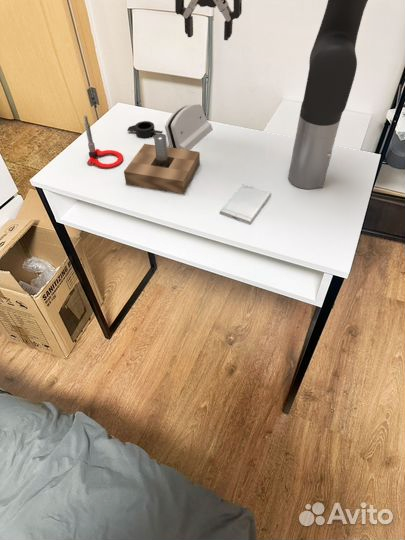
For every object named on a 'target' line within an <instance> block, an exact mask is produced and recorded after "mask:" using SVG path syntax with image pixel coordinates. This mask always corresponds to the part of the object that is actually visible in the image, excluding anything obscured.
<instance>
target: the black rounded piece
mask: <svg viewBox="0 0 405 540" xmlns="http://www.w3.org/2000/svg"><path fill="white" fill-rule="evenodd" d="M127 132H135V136H136V137H137V138H139V139H143V140H145V139H151V138H152V137H153V138H154V136H155V135H156V134H163V132H164V131H162V130H156V129H155V124H154V122H152V121H149V120H142V121H139V122H137V123H136V124H133V125H131V126H129V127H128V128H127Z"/></svg>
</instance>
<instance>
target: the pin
mask: <svg viewBox="0 0 405 540" xmlns="http://www.w3.org/2000/svg"><path fill="white" fill-rule="evenodd" d="M153 139H154V140H153V141H154V145H155V151H156V160H157V166H159V167H165V168H169V166H168V154H167V147H168V146H167V145H168V144H167V134H164V133H155V135H154V136H153Z"/></svg>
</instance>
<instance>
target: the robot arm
mask: <svg viewBox="0 0 405 540" xmlns="http://www.w3.org/2000/svg"><path fill="white" fill-rule="evenodd" d="M242 1H243V0H233V11H232V9H231V7H230V5H229V3H228V0H190V1H189V3H188V5H187V7H185V0H174V2H175V4H174V5H175V6H174V9H175V10H174V11H175V14H176V15H180V16H182V17H183V18H184V32H185V35H187V38H192V37H193V36H194V19H193V18H194V17H193V15H192V14H193V13H194V10H195V9H196V7H197V6H199V7H200V8H205V7H208V8H215V7H217V9H218V11H219V12H220V13H221V14H222V16H223V18H224V22H223V23H224V24H223V25H224V27H223V29H224V31H223V40H224V41H229V39H230V37H231V36H232V35H233V24H234V23H233V20H235V19H236V20H237V19H239V18H240V16H241V15H242V12H243V9H242V7H243V5H242V3H243V2H242ZM368 2H369V0H327V3H326V8H325V10H324V14H323V16H322V20H321V22H320V26H319V29H318V32H317V34H316V37H315V40H314V43H313V46H312V49H311V51H310V54H309V60H308V61H309V70H308V73H307V79H306V84H305V90H304V95H303V100H302V102H301V106H300V112H299V117H298V122H297V126H296V127H297V128H296V133H295V139H294V144H293V147H292V154H291V160H290V165H289V169H288V175H287V179H288V181H289V182H290V183H291V185H293V186H294V187H296V188H300V189H303V190H304V189H305V190H314V189H319V188H320V189H323V187H324V184H325V181H326V180H325V179H326V176H327V173H328V171H329V170H328V169H329V166H330V162H331V158H332V154H333V153H332V152H333V148H334V144H335V141H336V136H337V133H338V129H339V126H340V122H341V119H342V115H343V112H344V111H345V110H346V107H347V104H348V101H349V97H350V94H351V91H352V88H353V84H354V81H355V77H356V73H357V67H358V66H357V65H358V60H357V59H358V58H357V54H356V44H357V40H358V36H359V35H358V34H359V31H360V27H361V22H362V19H363V15H364V13H365V12H364V11H365V9H366V6H367V4H368Z"/></svg>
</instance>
